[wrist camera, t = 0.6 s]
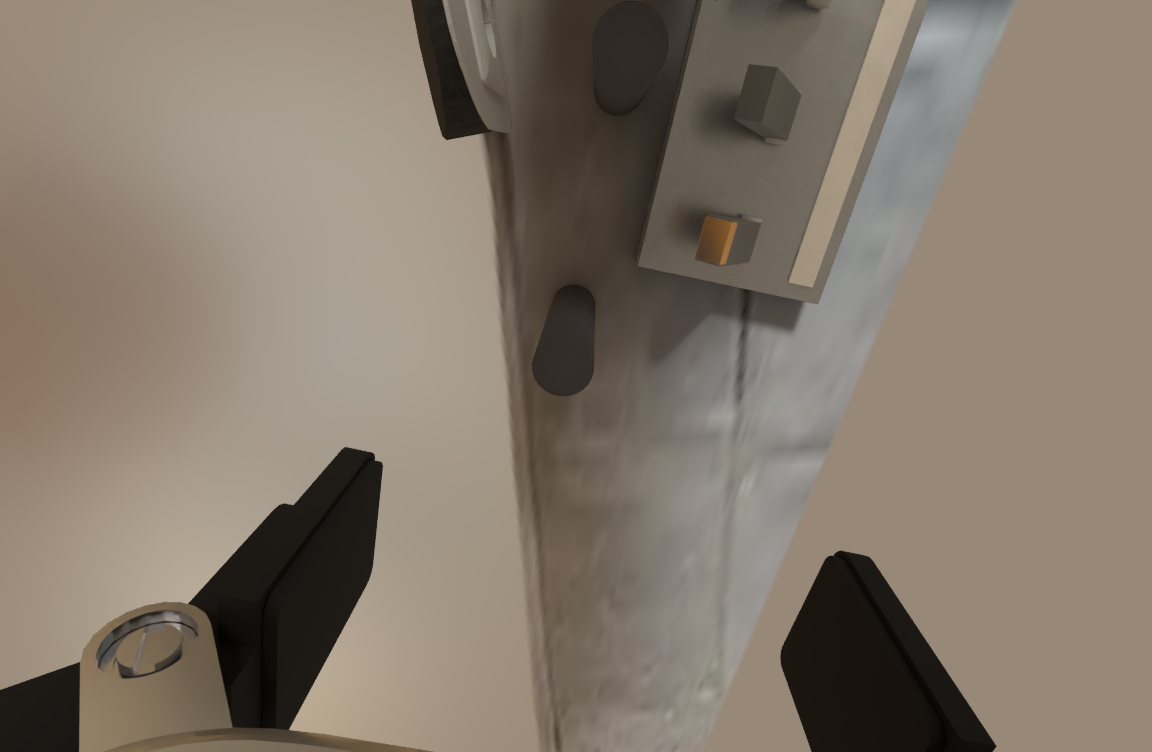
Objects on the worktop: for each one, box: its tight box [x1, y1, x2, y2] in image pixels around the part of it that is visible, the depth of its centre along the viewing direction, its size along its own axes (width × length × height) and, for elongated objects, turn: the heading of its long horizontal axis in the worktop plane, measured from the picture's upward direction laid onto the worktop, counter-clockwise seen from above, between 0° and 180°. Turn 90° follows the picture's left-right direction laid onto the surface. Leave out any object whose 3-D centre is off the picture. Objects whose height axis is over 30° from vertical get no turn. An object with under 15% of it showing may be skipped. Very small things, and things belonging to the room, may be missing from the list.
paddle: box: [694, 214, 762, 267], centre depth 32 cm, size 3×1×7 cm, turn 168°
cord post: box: [532, 285, 595, 396], centre depth 33 cm, size 3×3×13 cm
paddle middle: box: [734, 64, 802, 146], centre depth 29 cm, size 3×1×7 cm, turn 169°
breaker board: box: [636, 0, 930, 304], centre depth 33 cm, size 20×12×3 cm, turn 168°
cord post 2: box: [593, 1, 668, 115], centre depth 28 cm, size 3×3×13 cm
